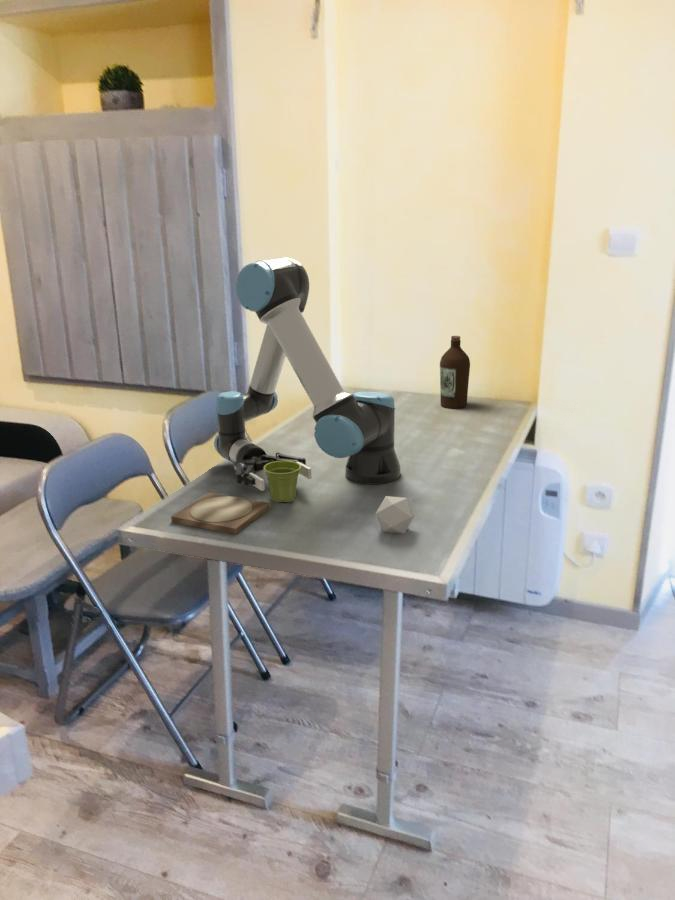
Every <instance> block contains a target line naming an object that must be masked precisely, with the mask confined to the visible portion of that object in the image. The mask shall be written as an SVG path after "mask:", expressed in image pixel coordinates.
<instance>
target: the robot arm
mask: <svg viewBox="0 0 675 900" xmlns="http://www.w3.org/2000/svg"><path fill="white" fill-rule="evenodd" d="M309 292H310V280H309V274H308V273H307V271H306V269H305V267H304V266H303V265H302V264H301V262H299V261H297V259H293V258H290V257H278V258H275V259H266V260H257V261H254V262H251V263H248V264H246V265H244V266H243V267H242V268H241V270H240V271H239V273H238V275H237V278H236V283H235V293H236V297H237V300H238V302H239V304H240V305H241V306H242V307H243V308H244V309H246V310H248V311H250V312H255V314H256V316H257V318H258V319H259V321H260V323H262V324H264V325H265V324H266V326H265V330H264V334H263V338H262V341H261V344H260V348H259V352H258V356H257V358H256V359H257V360H256V361H255V366H254V369H253V373H252V377H251V380H250V383H249V387H248V390H247V392H246V393H241V392H240V391H233V390H232V391H223V392H221V393H219V394H218V395H217V396H216V409H215V410H216V417H217V427H218V429H217V430H218V433H217V434H216V436H215V439H214V441H213V447H214V450H215V451H216V452H217V453H218V455H220V456H221V457H222V458H223V459H226V461H227V460H228V461H229V462H231V463H233V465H234V467H233V468H234V472H235V475H236V476H235V477H236V478H235V479H236V484H238V485H240V484H242V483H244V486H246V487H248V486H254V487H255V488H257V489H258V490H259V491H261V492H263V491H265V480H264V479H263V478H261V477H260V476H258V475H257V474H256V473H259V472H261V471H264V466H265V465H266V464H268V463H270V462H274V461H293V462H296V463H298V464H300V465H301V469H300V470H299V474H298V475H302V476H303V477H305V478H306V479H308V480H310V479H312V468H311V467H309V466H308V465H307V463H306V462H307V460H306V458H305V457H299V456H296V455H295V456H294V455H288V454H283V453H281V452H275V455H269V454H267V453H266V451H265V450H264V449H263V448H262V447H260V446H258V445H257V444H255V443H253V442H251V441H250V440H248V439H246V422H248V421H252V420H253V419H256V418H258V417H260V416H263V415H266V414H268V413H270V412H271V411H273V410H275V408H276V407H277V405H278V403H279V402H278V401H279V400H278V395H277V392H276V388H277V386H278V382H279V379H280V375H281V373H282V372H281V371H282V369H283V365H284V363H285V359H286V358H287V360H288V362H289V364H290V366H291V367H292V369H293V371H294V373H295V374H296V377H297V378H298V380H299V382H300V383H301V386H302V387H303V389H304V391H305V393H306V395H307V397H308V398H309V400H310V402H311V404H312V405H313V408H314V410H313V413H312V418H313V420H314V422H315V426H314V440H315V443H317V446H318V447H319V449H321V451H322V452H324V453H325V454H326V455H328V456H330V457H334V458H336V459H344V458H347V461H346V464H345V477H346V478H347V479H349V480H350V481H352V482H354V483H359V484H366V485H379V484H380V485H381V484H387V483H390V482H394V481H395V480H398V479H399V478H400V476H401V463H400V461H399V459H398V455H397V453H396V449H395V417H396V416H395V414H396V413H395V412H396V406H395V399H394V397H393V396H392V395H390V394H388V393H384V392H378V391H358V392H353V393H349V392H346V391H344V389H343V386H342V385H341V383H340V381H339V380H338V377H337V376H336V373H334V370H333V369H332V367H331V365H330V363H329V362H328V359H327V357H326V356H325V354H324V353H323V350H322V348H321V346H320V345H319V343H318V342H317V340H316V337H315V336H314V334H313V332H312V330H311V328H310V326H309V325H308V323H307V322H306V319H305V318H304V315H303V312H304V311H305V310H306V309H305V308H306V306H307V303H308V302H307V301H308V298H309ZM243 471H244V472H243ZM242 473H243V474H242Z"/></svg>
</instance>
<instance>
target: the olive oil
mask: <svg viewBox="0 0 675 900" xmlns="http://www.w3.org/2000/svg"><path fill="white" fill-rule="evenodd" d="M470 368H471V360H470V357H469V355H468V354H467V352H465V350H463V349H462V347H461V336H460V335H452V336H451V340H450V347H449V348H448V349H447V350H446V352H444V353H443V355H442V356H441V358H440V361H439V376H440V377H439V378H440V379H439V381H440V386H439V387H440V406H441V407H442V408H445V409H457V410H458V409H464V408H466V407H467V406H468V393H469V382H470V381H469V380H470V371H471V369H470Z"/></svg>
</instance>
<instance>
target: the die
mask: <svg viewBox="0 0 675 900" xmlns="http://www.w3.org/2000/svg"><path fill="white" fill-rule="evenodd" d="M375 516H376V518H377V521H378V523H379V525H380V527H381V530H382V532H385V533H395V534H403V535H404V534H406V533H407V530H409V526H410V525H411V523H412V522H413V521H414V518H415V514H414V511H413V509H412V505H411V504H410V501H409V499H408V497H402V496H401V497H400V496H389V495H385V497H384V498H383V499H382V502H381V503H380V505H379V507H378V508H377V510H376V512H375Z"/></svg>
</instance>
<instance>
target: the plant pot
mask: <svg viewBox="0 0 675 900" xmlns="http://www.w3.org/2000/svg"><path fill="white" fill-rule="evenodd" d="M300 469H301V465H300V464H298V463H296V462H293V461H274V462H270V463H268V464H266V465H265V466H264V470H263V471H265V475H266V478H267V481H268V486H269V487H268V488H269V491H270V493H269V494H270V497H271V500H272V502H273V501H274V502H276V503H282V502H284V503H289V502H292V501H294V500H295V499H296V497H297V494H296V493H297V485H298V479H299V477H298V476H299V475H300V474H299V470H300Z"/></svg>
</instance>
